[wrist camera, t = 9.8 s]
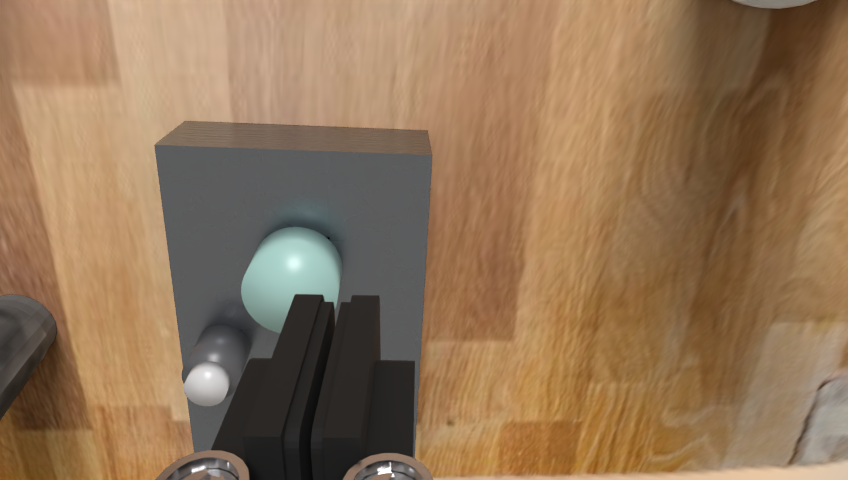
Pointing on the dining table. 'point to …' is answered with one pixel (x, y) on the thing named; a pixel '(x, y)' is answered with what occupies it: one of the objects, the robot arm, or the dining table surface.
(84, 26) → the dining table surface
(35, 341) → the beverage cup
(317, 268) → the teal knob
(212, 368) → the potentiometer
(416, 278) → the mount
